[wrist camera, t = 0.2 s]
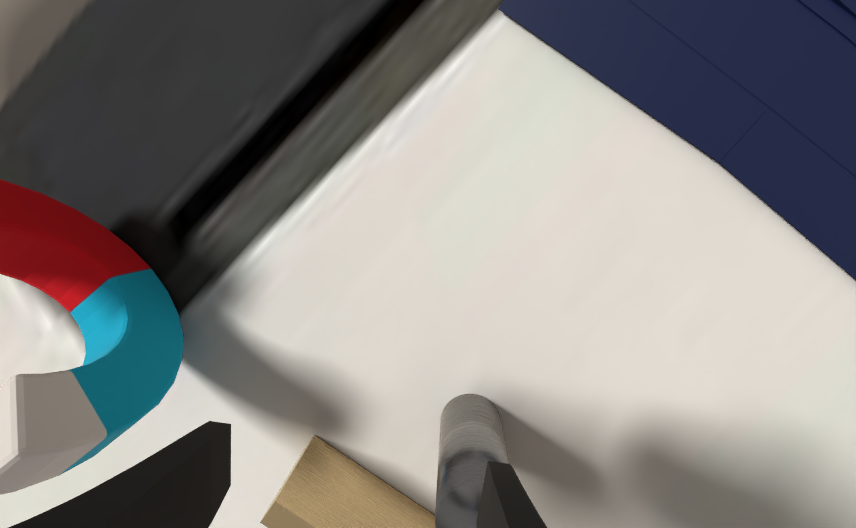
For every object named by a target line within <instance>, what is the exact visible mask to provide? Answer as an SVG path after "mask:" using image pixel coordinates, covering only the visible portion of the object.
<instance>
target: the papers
mask: <svg viewBox="0 0 856 528" xmlns="http://www.w3.org/2000/svg"><path fill="white" fill-rule="evenodd" d="M498 9H499V10H500V11H502V12H503V13H505V14H506V15H508V16H509V17H510V18H512V19H513V20H515V21H516V22H518V23H519V24H520V25H522V26H523V27H525V28H526V29H528V30H529V31H531V32H532V33H533V34H535V35H536V36H538V37H539V38H541V39H542V40H543V41H545V42H546V43H548V44H549V45H551V46H552V47H554V48H555V49H556V50H558V51H559V52H561V53H562V54H564V55H565V56H566V57H568V58H569V59H571V60H572V61H574V62H575V63H576V64H578V65H579V66H581V67H582V68H584V69H585V70H587V71H588V72H589V73H591V74H592V75H594V76H595V77H597V78H598V79H599V80H601V81H602V82H604V83H605V84H607V85H608V86H610V87H611V88H612V89H614V90H615V91H617V92H618V93H620V94H621V95H622V96H624V97H625V98H627V99H628V100H630V101H631V102H632V103H634V104H635V105H637V106H638V107H640V108H641V109H643V110H644V111H645V112H647V113H648V114H650V115H651V116H653V117H654V118H655V119H657V120H658V121H660V122H661V123H663V124H664V125H666V126H667V127H668V128H670V129H671V130H673V131H674V132H676V133H677V134H678V135H680V136H681V137H683V138H684V139H686V140H687V141H688V142H690V143H691V144H693V145H694V146H696V147H697V148H699V149H700V150H701V151H703V152H704V153H706V154H707V155H709V156H710V157H711V158H713V159H714V160H716V161H717V162H719V163H720V164H721V165H722V166H723V167H724V168H726V169H727V170H728V171H729V172H730V173H732V174H733V175H734V176H735V177H736V178H737V179H739V180H740V181H741V182H742V183H743V184H744V185H746V186H747V187H748V188H749V189H750V190H751V191H753V192H754V193H755V194H756V195H757V196H758V197H760V198H761V199H762V200H763V201H764V202H766V203H767V204H768V205H769V206H770V207H771V208H773V209H774V210H775V211H776V212H777V213H778V214H780V215H781V216H782V217H783V218H784V219H785V220H787V221H788V222H789V223H790V224H791V225H792V226H794V227H795V228H796V229H797V230H798V231H800V232H801V233H802V234H803V235H804V236H805V237H807V238H808V239H809V240H810V241H811V242H812V243H814V244H815V245H816V246H817V247H818V248H819V249H821V250H822V251H823V252H824V253H825V254H826V255H828V256H829V257H830V258H831V259H832V260H834V261H835V262H836V263H837V264H838V265H839V266H841V267H842V268H843V269H844V270H845V271H846V272H848V273H849V274H850V275H851V276H852V277H853V278H855V279H856V0H503V2H502V3H501V5H500V7H499V8H498Z"/></svg>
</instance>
